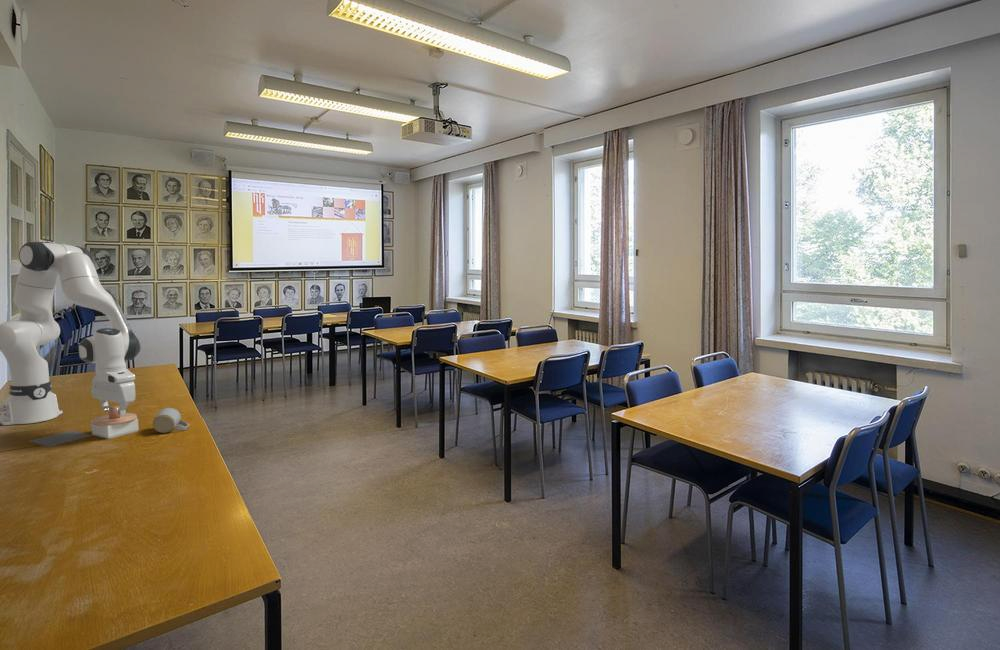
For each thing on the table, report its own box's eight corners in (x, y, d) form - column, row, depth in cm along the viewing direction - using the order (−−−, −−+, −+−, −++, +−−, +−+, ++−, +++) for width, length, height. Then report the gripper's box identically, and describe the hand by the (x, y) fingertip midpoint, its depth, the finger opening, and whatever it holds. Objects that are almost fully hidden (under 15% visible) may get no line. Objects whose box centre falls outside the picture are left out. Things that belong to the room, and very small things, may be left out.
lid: (83, 422, 187) (82, 409, 186) (123, 413, 198) (122, 400, 198) (105, 427, 181) (104, 413, 181) (144, 418, 193) (144, 405, 192)
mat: (28, 441, 181) (28, 440, 181) (72, 431, 192) (72, 430, 192) (48, 448, 175) (48, 446, 175) (92, 436, 187) (92, 435, 187)
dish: (92, 435, 188) (91, 421, 187) (122, 428, 197) (121, 414, 196) (108, 440, 184) (107, 425, 183) (138, 432, 193) (137, 418, 192)
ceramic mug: (152, 435, 190) (151, 414, 189) (157, 428, 197) (157, 408, 196) (185, 432, 193) (185, 412, 192) (190, 426, 201) (189, 406, 200)
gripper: (84, 373, 189) (87, 410, 191) (118, 379, 181) (121, 418, 182) (104, 370, 195) (106, 406, 197) (138, 375, 186) (140, 414, 188)
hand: (114, 412), depth 189 cm, fingers open, 8 cm apart
